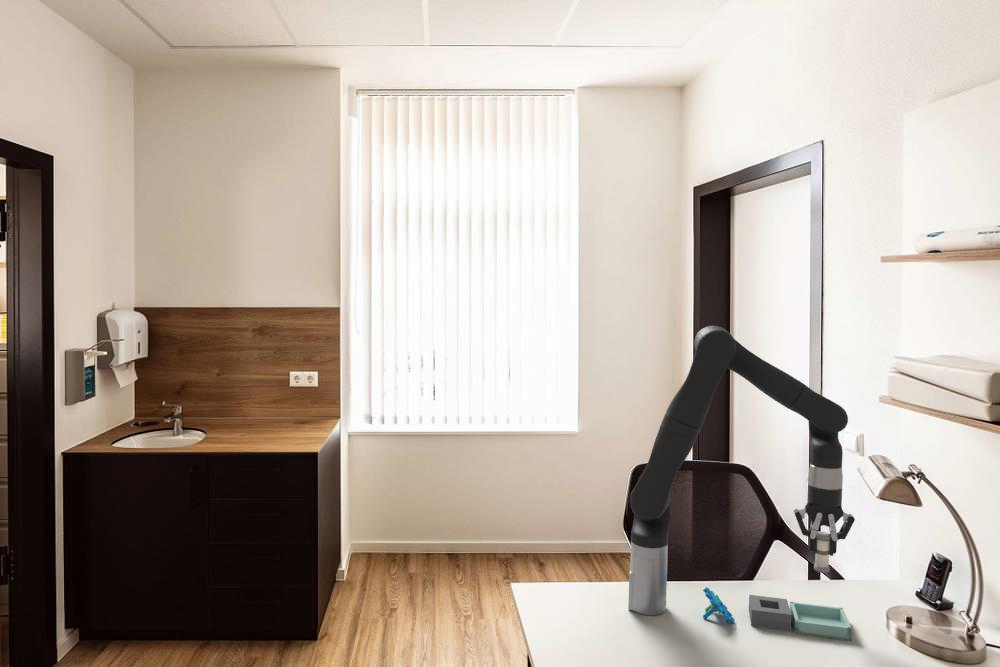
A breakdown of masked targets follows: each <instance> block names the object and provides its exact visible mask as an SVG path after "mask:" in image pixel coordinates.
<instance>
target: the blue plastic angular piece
mask: <svg viewBox="0 0 1000 667" xmlns="http://www.w3.org/2000/svg"><path fill="white" fill-rule="evenodd" d="M702 591H703V593H704V595H705V597H706V598H707V599H708V600H709V602H710V604H709V605H707V607H705V608H704V611H705V613H704V614H703V615H702V617H703V619H704V620H707V619H708V618H709V617H710V616H712V614H714V613H717V612H718V614H722V617H723V618H724V620H725V621H728V623H730V624H733V623H734V621H735V618H734V617H733V614H732V613H731V612H730V611H729V610H728V607H727V606H726V605H725V604H724V603H723V601H722V600H721V598H720V597H719V595H718V594H715V592H714V591H713V590H710V588H709V587H708V586H706V587H705V588H704V589H703V590H702Z"/></svg>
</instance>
